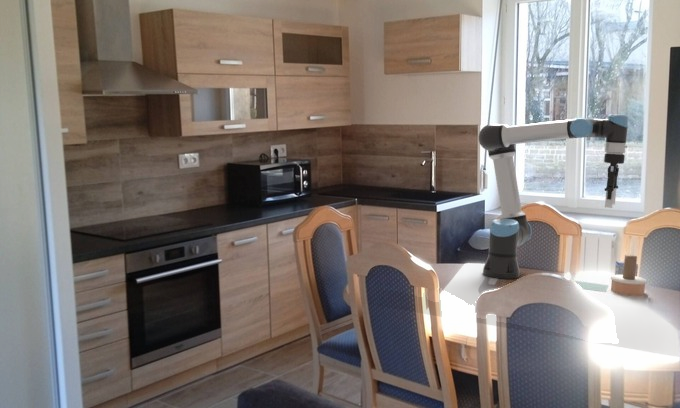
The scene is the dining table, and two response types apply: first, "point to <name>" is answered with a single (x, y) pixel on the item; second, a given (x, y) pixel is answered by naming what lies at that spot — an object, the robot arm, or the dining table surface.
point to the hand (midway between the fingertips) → (609, 205)
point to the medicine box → (622, 268)
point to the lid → (629, 272)
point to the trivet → (593, 286)
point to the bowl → (627, 288)
